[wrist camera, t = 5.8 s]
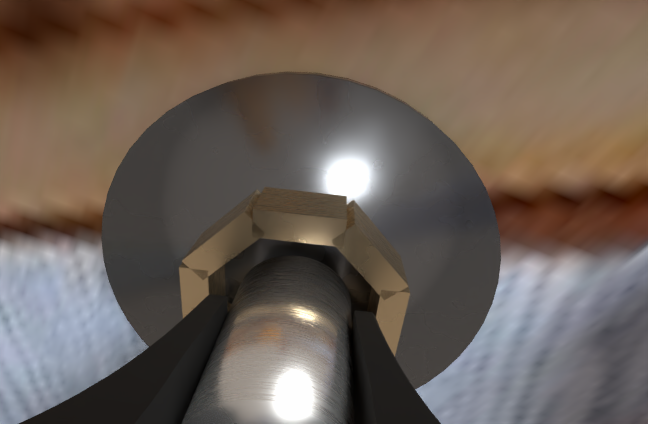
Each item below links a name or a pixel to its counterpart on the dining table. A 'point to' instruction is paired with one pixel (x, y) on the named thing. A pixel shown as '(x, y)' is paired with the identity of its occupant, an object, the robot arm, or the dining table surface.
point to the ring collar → (306, 210)
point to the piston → (281, 350)
